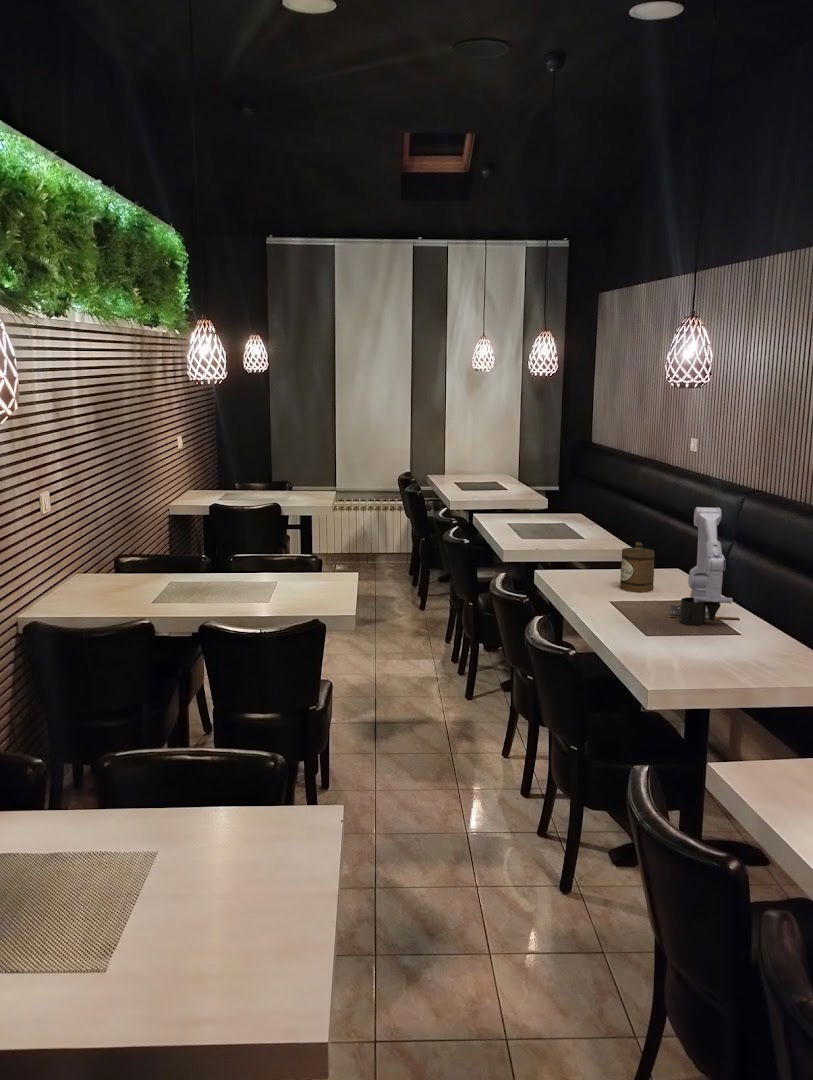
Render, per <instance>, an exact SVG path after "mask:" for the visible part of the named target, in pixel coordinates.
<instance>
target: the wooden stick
mask: <svg viewBox="0 0 813 1080" xmlns="http://www.w3.org/2000/svg"><path fill="white" fill-rule="evenodd" d="M666 616H667V617H677V618H676V619H680V615H670V614H666ZM666 616H665V617H666ZM667 617H666V618H667ZM705 620H710V619H709V615H705ZM714 620H720V621H740V620H741V619H740V617H739V616H734V617H733V616H732V617H731V616H715V617H714Z"/></svg>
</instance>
